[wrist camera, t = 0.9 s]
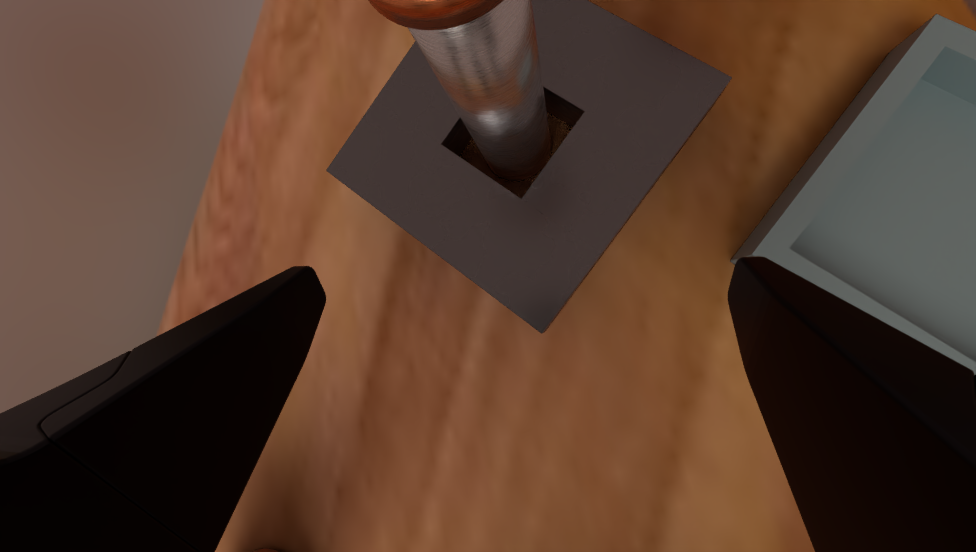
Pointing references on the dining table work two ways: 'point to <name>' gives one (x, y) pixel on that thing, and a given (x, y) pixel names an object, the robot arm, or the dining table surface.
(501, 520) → the dining table surface
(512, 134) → the hitch pin
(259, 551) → the sauce bottle
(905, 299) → the tray
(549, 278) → the block
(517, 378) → the dining table surface
